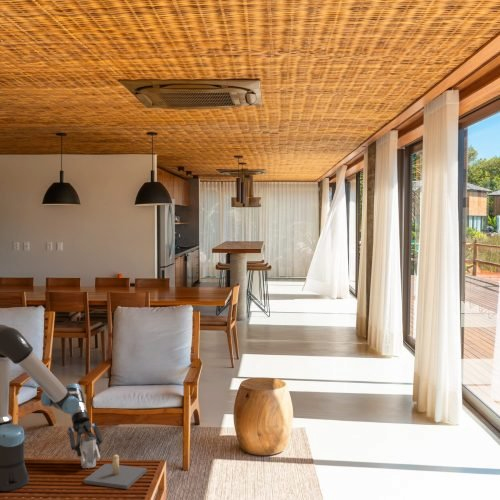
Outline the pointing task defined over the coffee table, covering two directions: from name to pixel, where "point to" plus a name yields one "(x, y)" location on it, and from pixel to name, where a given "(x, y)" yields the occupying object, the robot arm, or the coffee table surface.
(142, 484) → the coffee table surface
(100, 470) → the post plate
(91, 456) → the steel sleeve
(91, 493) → the coffee table surface
